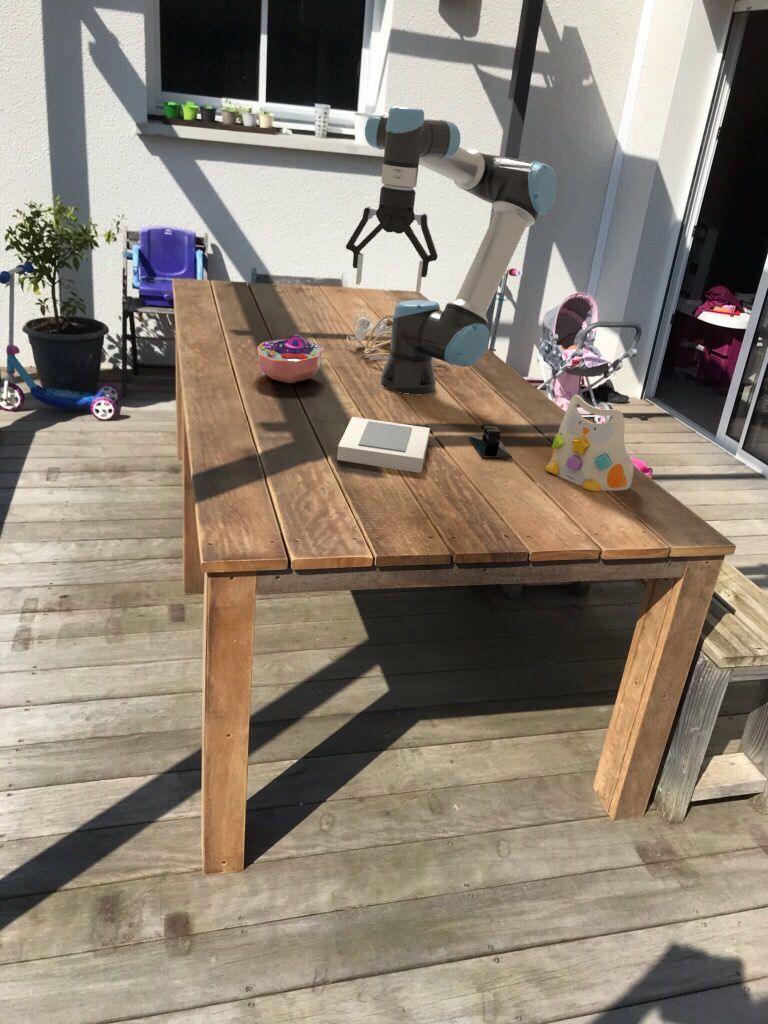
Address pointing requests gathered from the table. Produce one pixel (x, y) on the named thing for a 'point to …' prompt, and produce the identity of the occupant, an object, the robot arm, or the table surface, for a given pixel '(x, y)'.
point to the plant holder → (379, 331)
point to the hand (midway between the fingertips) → (388, 287)
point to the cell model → (289, 359)
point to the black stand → (490, 443)
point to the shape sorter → (591, 450)
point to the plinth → (384, 444)
